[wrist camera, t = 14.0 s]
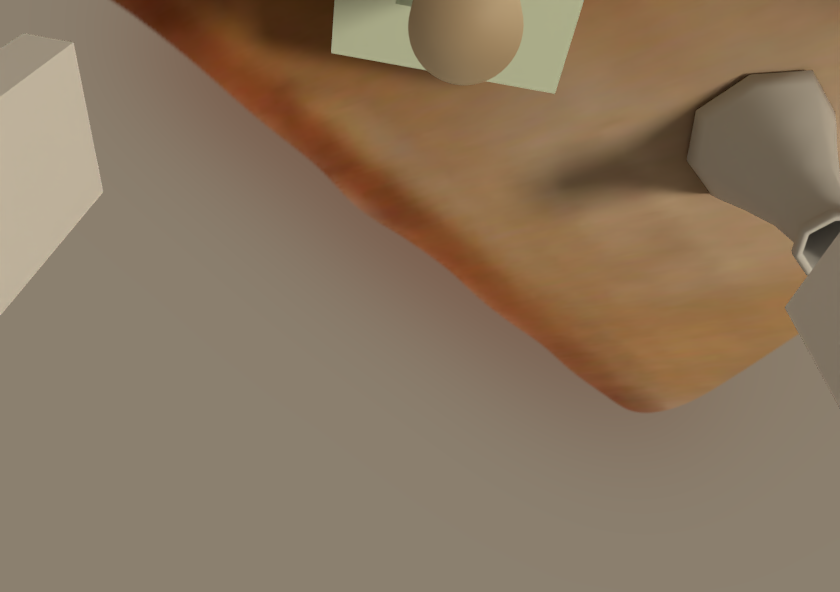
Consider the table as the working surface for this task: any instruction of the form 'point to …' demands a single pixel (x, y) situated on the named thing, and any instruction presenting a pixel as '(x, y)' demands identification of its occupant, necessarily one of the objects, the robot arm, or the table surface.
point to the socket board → (389, 43)
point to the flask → (774, 156)
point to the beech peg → (465, 37)
